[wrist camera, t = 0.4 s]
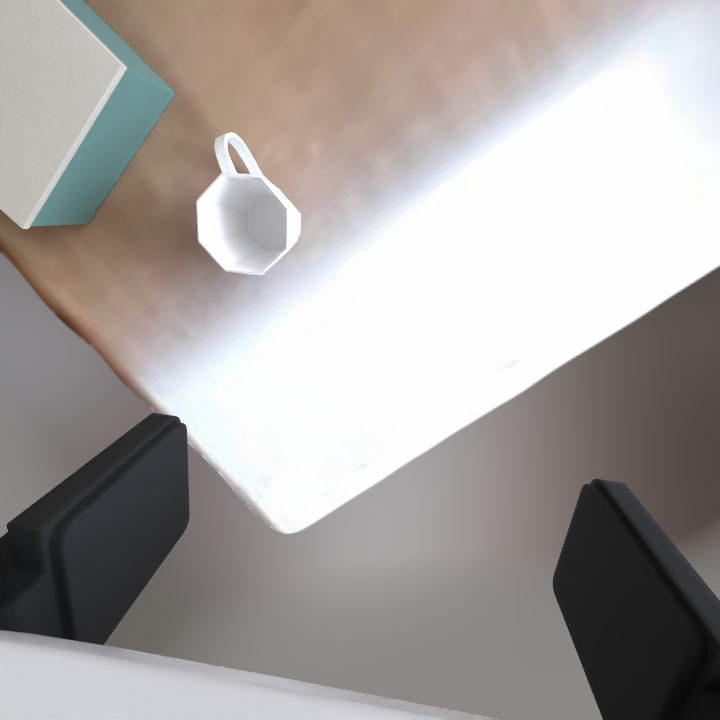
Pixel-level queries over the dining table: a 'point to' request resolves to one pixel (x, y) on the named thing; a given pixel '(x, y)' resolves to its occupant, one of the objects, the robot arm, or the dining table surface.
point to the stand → (68, 110)
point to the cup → (244, 215)
